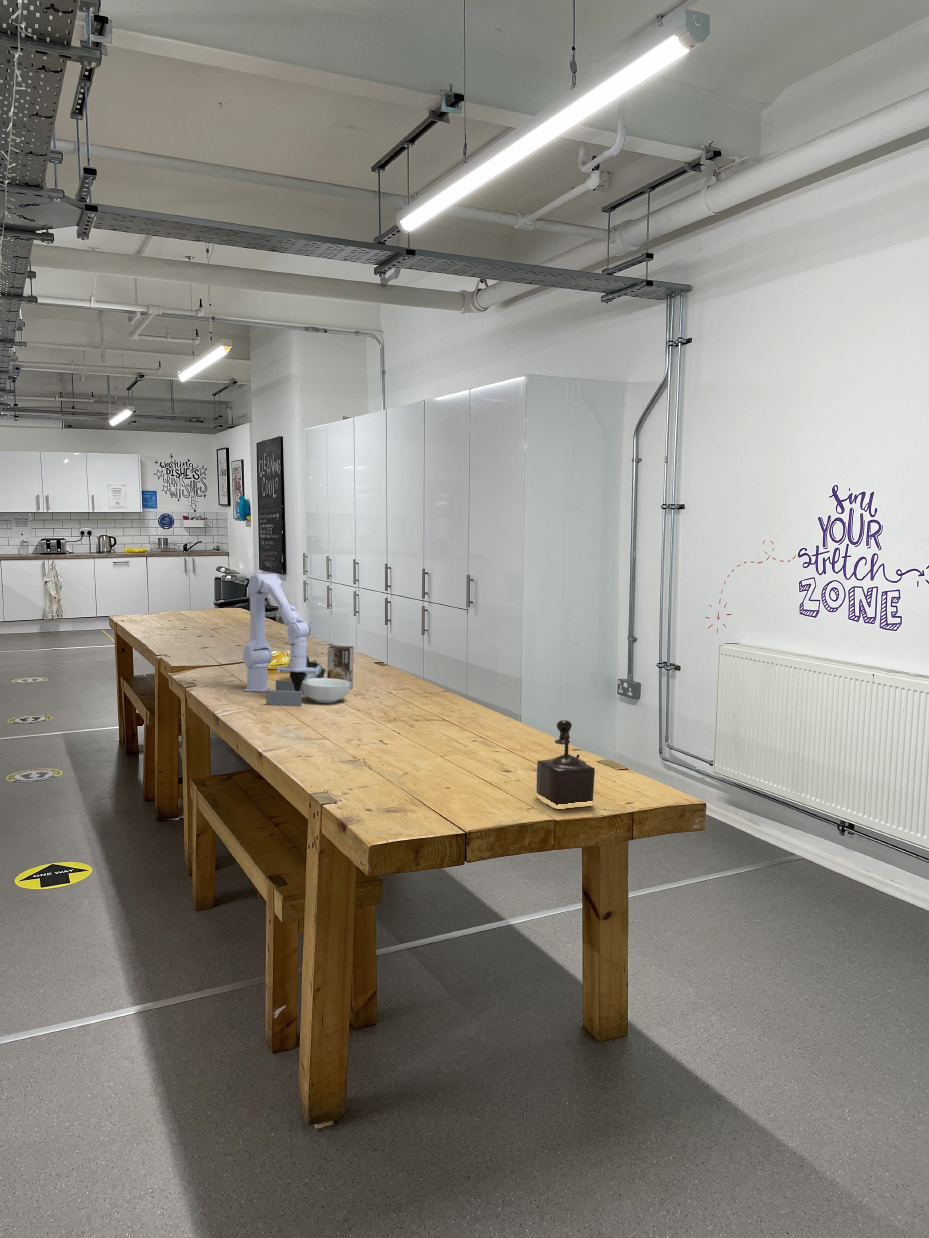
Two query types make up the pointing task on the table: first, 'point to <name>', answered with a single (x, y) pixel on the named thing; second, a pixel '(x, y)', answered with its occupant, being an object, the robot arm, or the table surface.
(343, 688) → the cereal bowl
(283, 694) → the gray parallel panels
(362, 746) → the table surface
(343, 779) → the table surface
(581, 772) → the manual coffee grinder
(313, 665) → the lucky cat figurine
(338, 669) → the coffee box
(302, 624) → the robot arm
